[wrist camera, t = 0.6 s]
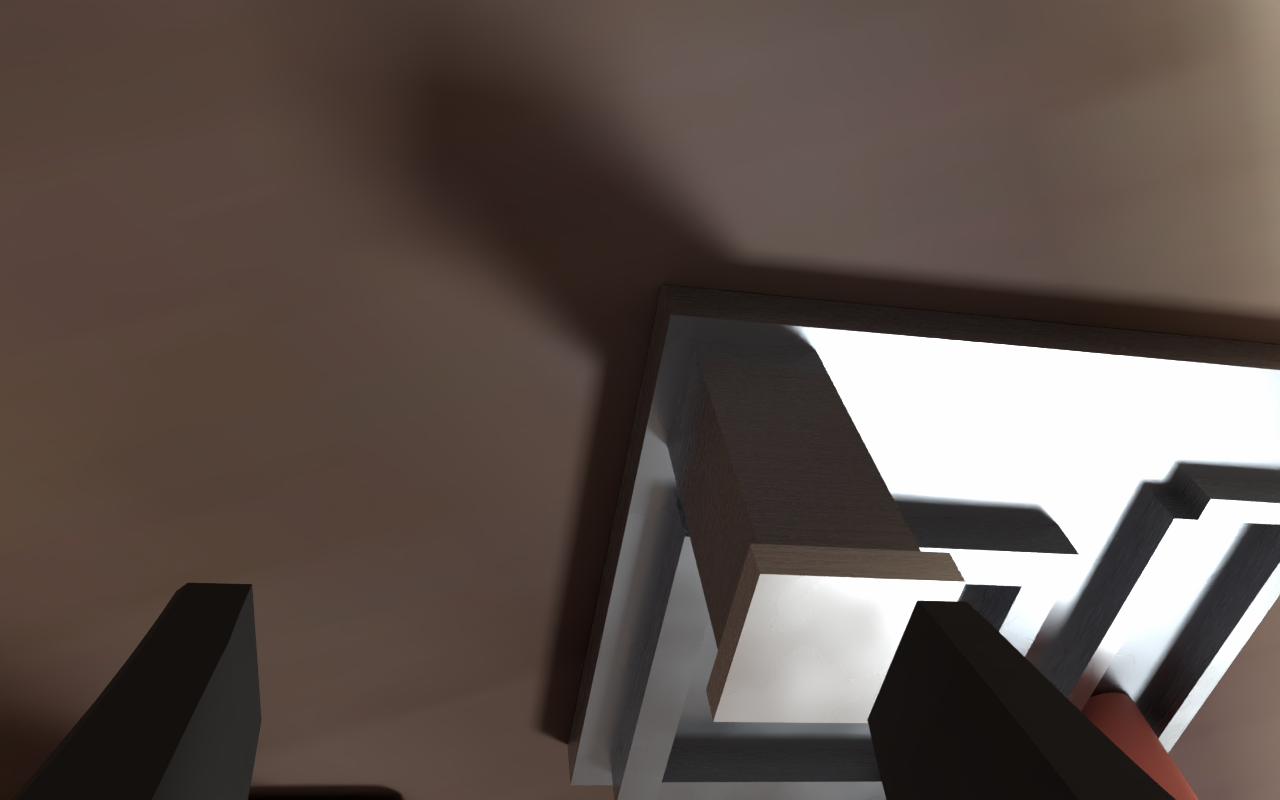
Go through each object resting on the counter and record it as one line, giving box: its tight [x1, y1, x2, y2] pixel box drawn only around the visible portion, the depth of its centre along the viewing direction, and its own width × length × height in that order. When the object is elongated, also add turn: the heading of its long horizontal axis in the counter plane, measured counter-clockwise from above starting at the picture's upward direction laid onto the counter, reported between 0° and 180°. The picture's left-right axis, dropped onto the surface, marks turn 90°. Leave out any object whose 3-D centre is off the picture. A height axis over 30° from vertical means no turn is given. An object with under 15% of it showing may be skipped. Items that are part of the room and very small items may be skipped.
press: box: [568, 285, 1280, 800], centre depth 22 cm, size 14×16×8 cm
